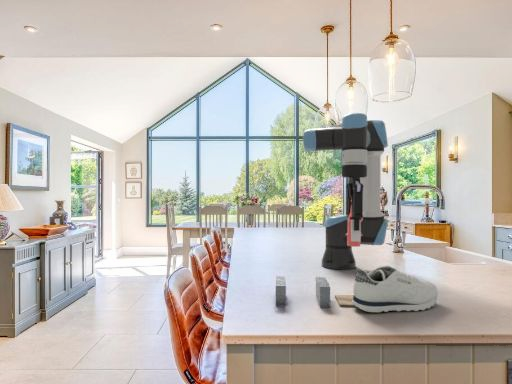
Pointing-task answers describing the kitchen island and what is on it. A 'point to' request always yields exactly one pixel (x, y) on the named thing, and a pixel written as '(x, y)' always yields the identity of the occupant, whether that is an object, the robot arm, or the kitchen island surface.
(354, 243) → the figurine
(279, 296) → the grey blocks
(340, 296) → the pad
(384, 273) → the running shoe
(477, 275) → the kitchen island surface
